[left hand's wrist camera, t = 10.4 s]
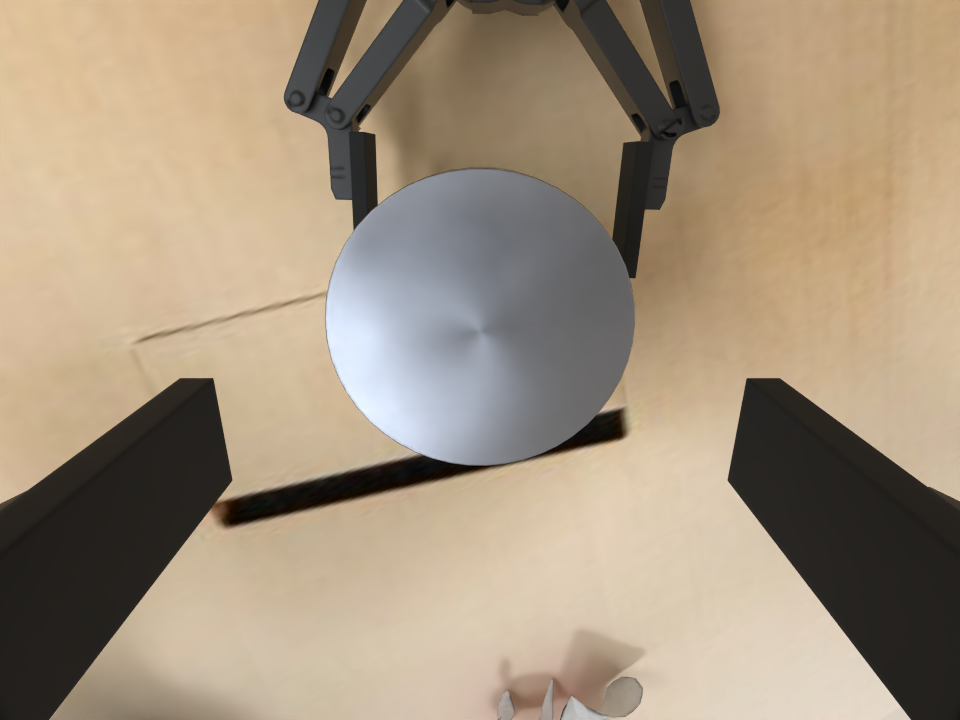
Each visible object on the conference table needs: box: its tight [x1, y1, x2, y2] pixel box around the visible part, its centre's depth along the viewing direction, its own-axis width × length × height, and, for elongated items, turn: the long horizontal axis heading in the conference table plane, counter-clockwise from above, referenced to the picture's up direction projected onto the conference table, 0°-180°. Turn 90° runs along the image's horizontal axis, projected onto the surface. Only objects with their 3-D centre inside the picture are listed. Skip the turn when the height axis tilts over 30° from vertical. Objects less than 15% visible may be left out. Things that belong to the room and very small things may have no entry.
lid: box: [325, 167, 635, 465], centre depth 21 cm, size 11×11×2 cm
